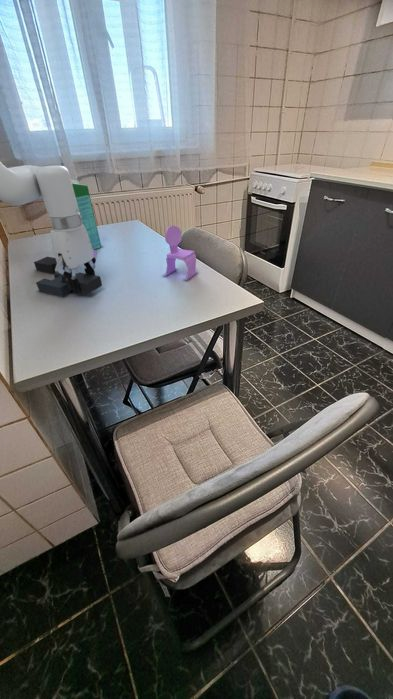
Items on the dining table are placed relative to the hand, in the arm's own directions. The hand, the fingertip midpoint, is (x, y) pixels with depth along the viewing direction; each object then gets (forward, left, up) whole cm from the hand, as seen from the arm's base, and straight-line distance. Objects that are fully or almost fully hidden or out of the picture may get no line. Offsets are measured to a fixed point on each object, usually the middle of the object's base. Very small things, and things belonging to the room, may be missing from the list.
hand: (84, 285), depth 87 cm
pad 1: (-24, +10, -2) cm, 26 cm away
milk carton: (-29, +32, -2) cm, 43 cm away
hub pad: (-9, 0, -2) cm, 10 cm away
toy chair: (+21, +22, -2) cm, 30 cm away
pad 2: (-2, 0, -1) cm, 2 cm away
